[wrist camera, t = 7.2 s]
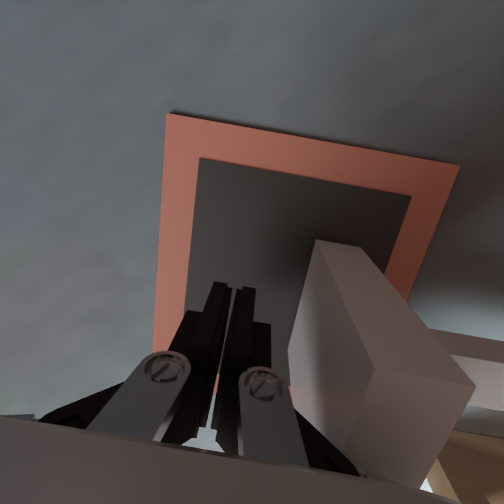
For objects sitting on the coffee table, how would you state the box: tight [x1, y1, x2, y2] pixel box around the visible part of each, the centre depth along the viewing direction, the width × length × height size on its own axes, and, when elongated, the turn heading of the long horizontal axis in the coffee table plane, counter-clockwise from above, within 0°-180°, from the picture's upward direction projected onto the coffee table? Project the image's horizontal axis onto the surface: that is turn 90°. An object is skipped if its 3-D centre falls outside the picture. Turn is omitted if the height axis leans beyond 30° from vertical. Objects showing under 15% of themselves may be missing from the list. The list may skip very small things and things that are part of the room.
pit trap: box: [152, 113, 460, 398], centre depth 15 cm, size 14×12×1 cm
